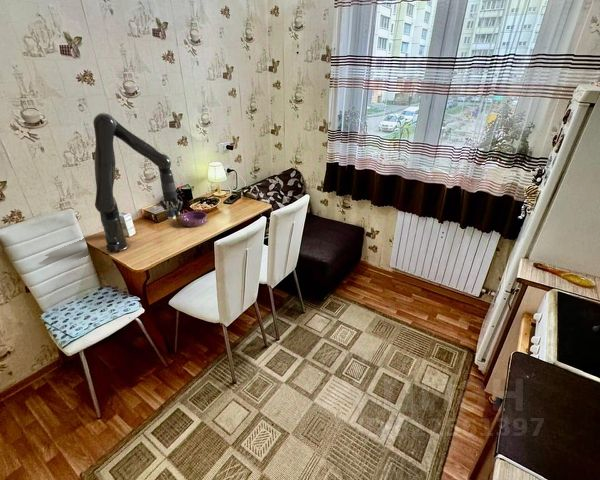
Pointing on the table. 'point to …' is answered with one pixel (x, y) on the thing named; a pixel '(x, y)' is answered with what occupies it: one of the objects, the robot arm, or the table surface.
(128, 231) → the syrup box
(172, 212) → the eraser
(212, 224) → the table surface
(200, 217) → the bowl
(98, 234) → the table surface
